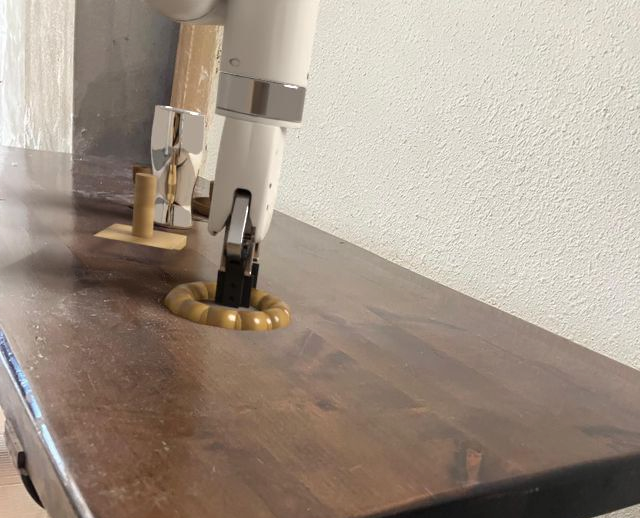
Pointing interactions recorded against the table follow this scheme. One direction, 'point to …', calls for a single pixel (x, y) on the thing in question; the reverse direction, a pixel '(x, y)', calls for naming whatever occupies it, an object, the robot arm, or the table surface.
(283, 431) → the table surface
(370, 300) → the table surface
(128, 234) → the post
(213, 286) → the ring
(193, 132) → the beer glass
